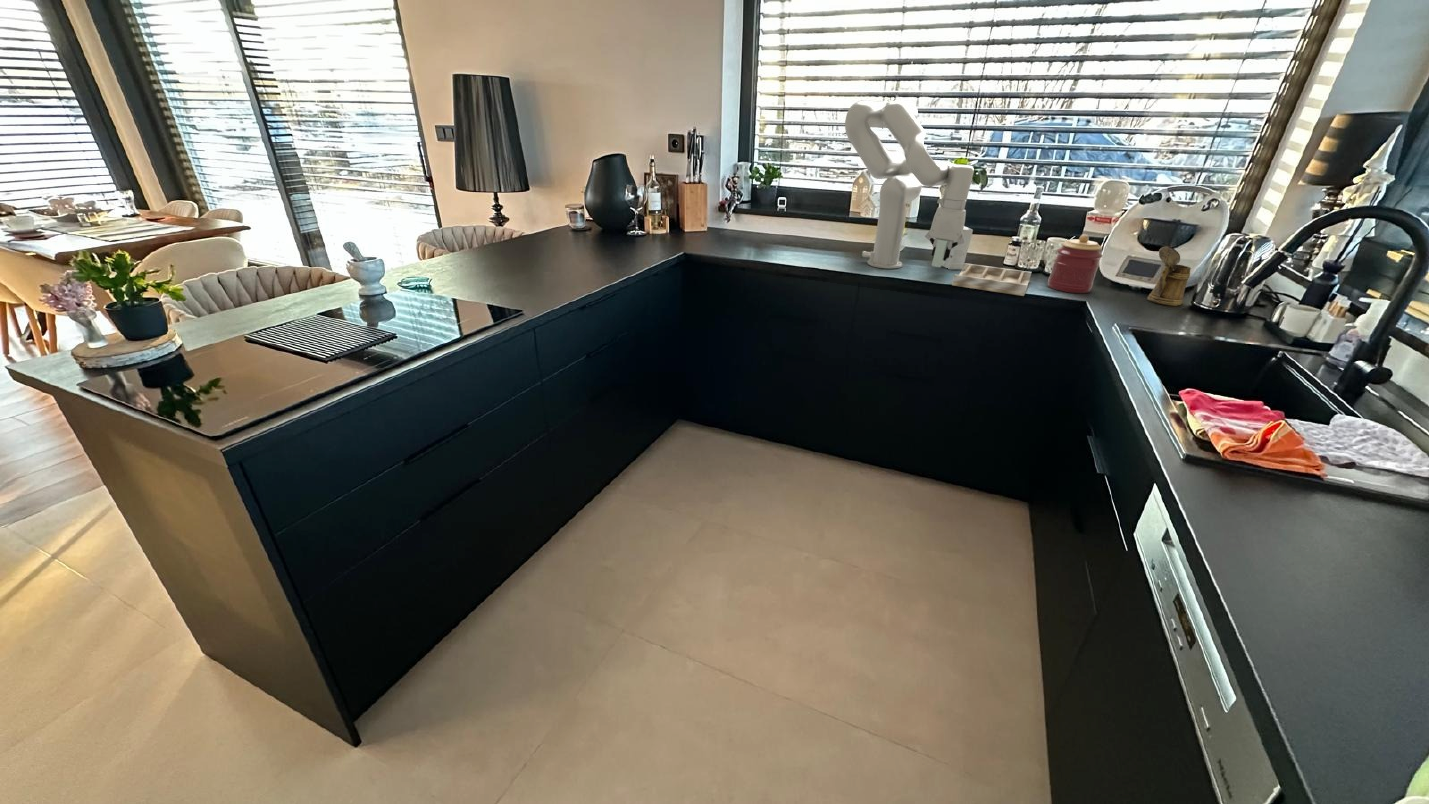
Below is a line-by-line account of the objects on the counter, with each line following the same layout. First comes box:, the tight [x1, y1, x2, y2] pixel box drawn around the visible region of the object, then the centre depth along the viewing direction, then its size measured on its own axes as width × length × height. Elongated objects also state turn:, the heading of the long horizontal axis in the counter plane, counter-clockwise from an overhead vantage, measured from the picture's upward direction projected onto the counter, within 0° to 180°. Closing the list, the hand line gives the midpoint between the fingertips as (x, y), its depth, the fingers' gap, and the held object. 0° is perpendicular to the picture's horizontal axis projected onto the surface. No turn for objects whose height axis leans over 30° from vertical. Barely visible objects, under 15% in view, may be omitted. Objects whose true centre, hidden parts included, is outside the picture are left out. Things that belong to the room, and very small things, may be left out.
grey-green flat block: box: [931, 239, 949, 268], centre depth 194 cm, size 3×8×9 cm, turn 149°
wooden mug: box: [1146, 245, 1192, 307], centre depth 170 cm, size 9×14×18 cm, turn 110°
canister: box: [1047, 234, 1103, 294], centre depth 183 cm, size 13×13×18 cm
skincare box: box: [941, 225, 974, 270], centre depth 207 cm, size 8×6×15 cm
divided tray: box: [951, 262, 1032, 297], centre depth 189 cm, size 22×20×4 cm
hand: (939, 258), depth 195 cm, fingers closed on grey-green flat block, 3 cm apart
